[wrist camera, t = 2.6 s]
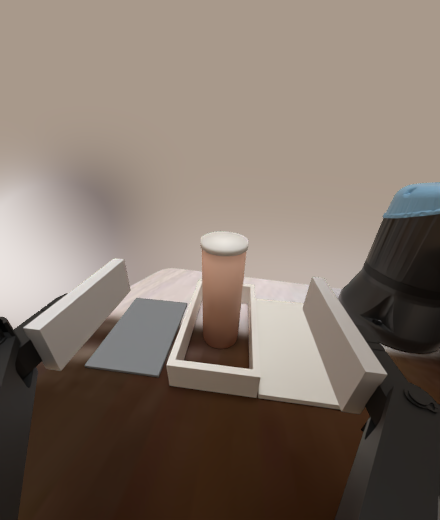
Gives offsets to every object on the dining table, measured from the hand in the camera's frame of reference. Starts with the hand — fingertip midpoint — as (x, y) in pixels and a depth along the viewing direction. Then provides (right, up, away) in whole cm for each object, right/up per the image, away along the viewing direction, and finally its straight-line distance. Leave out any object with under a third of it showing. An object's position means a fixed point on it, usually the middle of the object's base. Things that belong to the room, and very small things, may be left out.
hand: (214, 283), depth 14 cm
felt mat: (-12, -10, +18) cm, 23 cm away
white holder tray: (+6, -11, +17) cm, 21 cm away
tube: (+1, -10, +18) cm, 20 cm away
